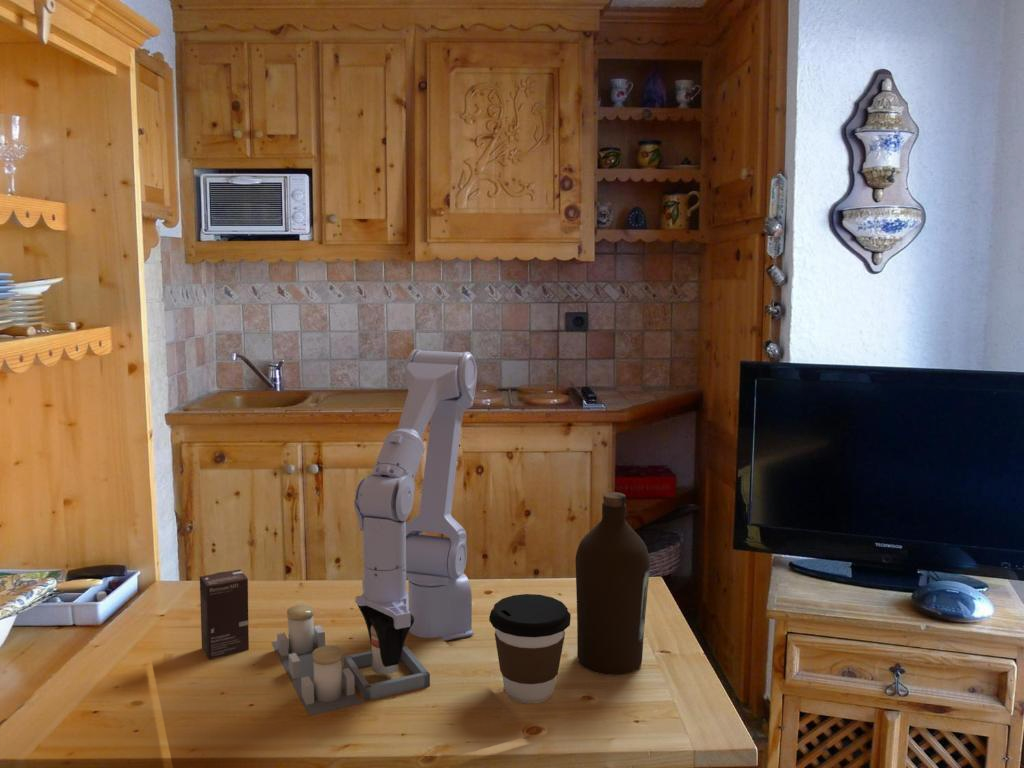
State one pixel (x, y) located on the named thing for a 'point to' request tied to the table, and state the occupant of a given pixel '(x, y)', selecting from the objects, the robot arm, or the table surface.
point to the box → (224, 613)
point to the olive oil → (611, 592)
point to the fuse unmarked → (327, 673)
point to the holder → (303, 675)
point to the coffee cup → (529, 644)
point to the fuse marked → (379, 656)
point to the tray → (388, 686)
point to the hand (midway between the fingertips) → (385, 658)
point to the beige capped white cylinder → (300, 629)
